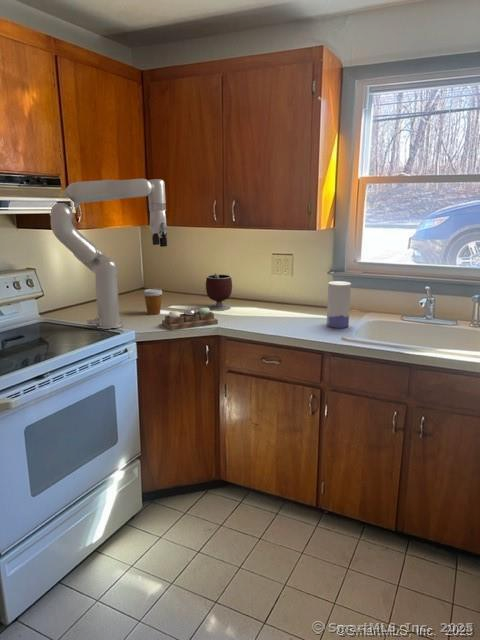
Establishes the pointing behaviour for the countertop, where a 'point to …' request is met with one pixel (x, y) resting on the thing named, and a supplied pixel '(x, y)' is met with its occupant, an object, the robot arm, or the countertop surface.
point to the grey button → (189, 312)
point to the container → (338, 304)
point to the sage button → (204, 311)
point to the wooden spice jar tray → (189, 321)
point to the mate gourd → (219, 290)
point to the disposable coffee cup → (153, 300)
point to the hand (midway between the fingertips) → (159, 245)
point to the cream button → (174, 314)
